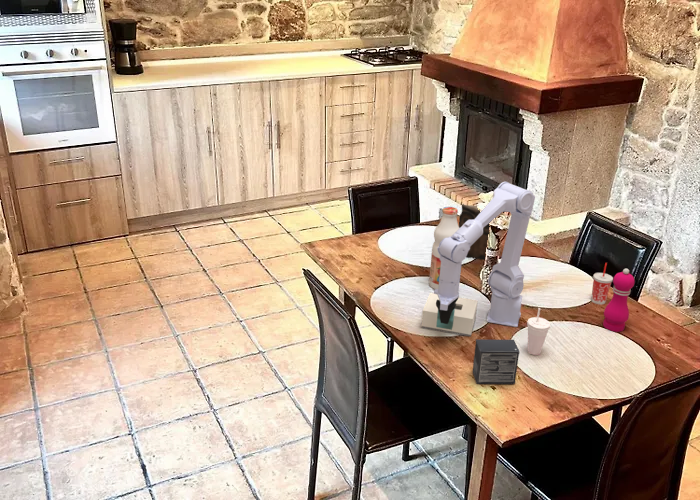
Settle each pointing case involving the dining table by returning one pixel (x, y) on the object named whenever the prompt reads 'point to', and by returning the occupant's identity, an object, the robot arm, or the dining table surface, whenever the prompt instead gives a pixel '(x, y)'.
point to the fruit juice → (441, 231)
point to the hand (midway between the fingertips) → (445, 320)
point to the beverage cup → (601, 287)
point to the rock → (480, 244)
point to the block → (450, 323)
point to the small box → (495, 361)
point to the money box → (462, 315)
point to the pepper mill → (619, 302)
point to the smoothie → (537, 333)
